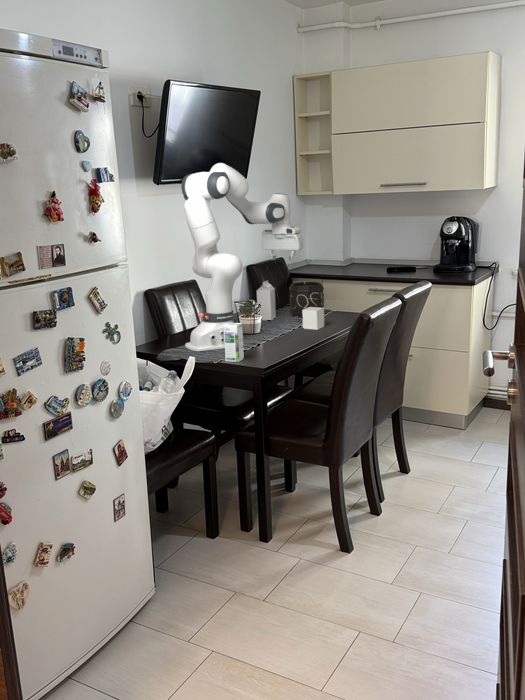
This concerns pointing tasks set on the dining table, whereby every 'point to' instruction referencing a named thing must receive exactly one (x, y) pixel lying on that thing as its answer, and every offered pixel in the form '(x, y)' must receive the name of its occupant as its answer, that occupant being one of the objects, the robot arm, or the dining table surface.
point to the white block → (313, 318)
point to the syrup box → (233, 342)
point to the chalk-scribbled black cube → (305, 296)
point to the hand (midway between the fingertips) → (282, 259)
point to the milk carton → (266, 301)
